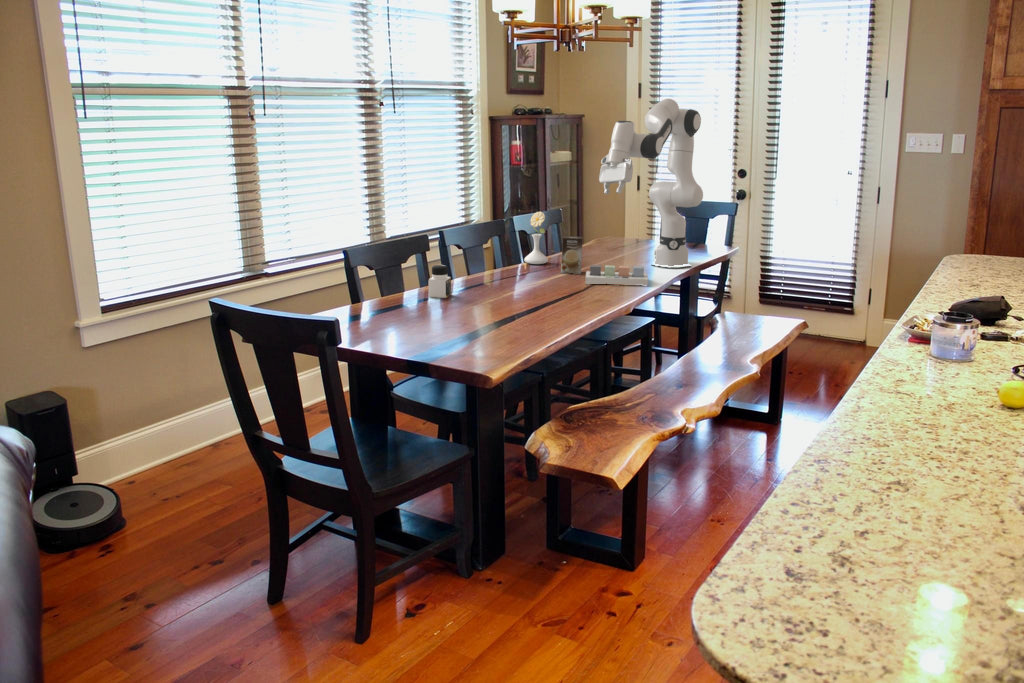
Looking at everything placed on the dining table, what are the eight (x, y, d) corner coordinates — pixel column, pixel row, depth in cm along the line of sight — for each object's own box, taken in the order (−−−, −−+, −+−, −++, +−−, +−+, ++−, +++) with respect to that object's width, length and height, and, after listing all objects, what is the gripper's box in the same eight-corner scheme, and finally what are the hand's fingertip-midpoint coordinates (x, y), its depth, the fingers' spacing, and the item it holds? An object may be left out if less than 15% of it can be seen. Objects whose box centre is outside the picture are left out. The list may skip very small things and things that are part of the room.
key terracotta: (618, 275, 368) (618, 265, 367) (628, 276, 368) (629, 266, 367) (618, 277, 364) (618, 267, 363) (628, 278, 364) (629, 267, 363)
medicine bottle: (446, 298, 332) (445, 267, 329) (428, 297, 334) (428, 266, 331) (451, 294, 339) (450, 264, 336) (433, 293, 341) (433, 263, 337)
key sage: (604, 275, 369) (604, 265, 368) (614, 275, 369) (615, 265, 367) (604, 277, 365) (604, 267, 364) (614, 277, 364) (615, 267, 363)
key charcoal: (590, 274, 370) (590, 264, 368) (600, 275, 369) (601, 265, 368) (590, 276, 365) (590, 266, 364) (600, 277, 365) (600, 267, 364)
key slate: (632, 276, 368) (633, 266, 367) (642, 276, 367) (643, 266, 366) (632, 278, 364) (633, 268, 362) (643, 278, 363) (643, 268, 362)
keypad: (586, 277, 375) (586, 270, 374) (646, 279, 372) (646, 272, 371) (585, 284, 362) (585, 276, 361) (647, 286, 359) (648, 278, 358)
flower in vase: (520, 262, 409) (520, 209, 403) (541, 260, 414) (542, 208, 407) (532, 267, 398) (533, 212, 391) (553, 265, 403) (555, 211, 396)
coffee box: (560, 273, 384) (561, 237, 379) (561, 271, 390) (562, 235, 385) (581, 274, 383) (582, 238, 378) (581, 271, 389) (582, 236, 385)
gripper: (639, 159, 343) (632, 194, 344) (612, 163, 361) (606, 195, 362) (625, 156, 340) (619, 191, 341) (599, 159, 359) (593, 192, 359)
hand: (612, 193), depth 352 cm, fingers open, 8 cm apart
